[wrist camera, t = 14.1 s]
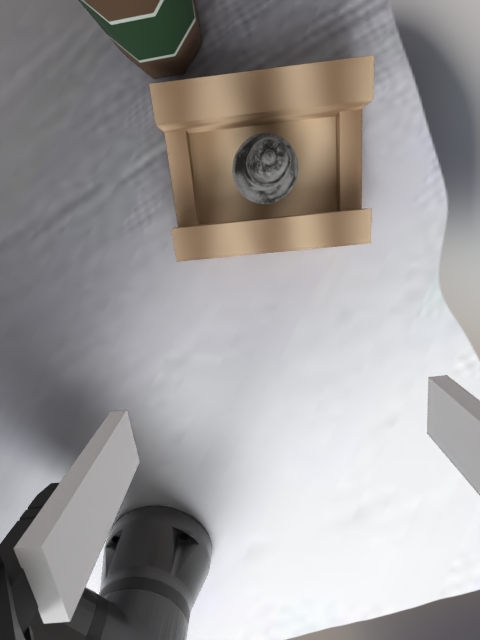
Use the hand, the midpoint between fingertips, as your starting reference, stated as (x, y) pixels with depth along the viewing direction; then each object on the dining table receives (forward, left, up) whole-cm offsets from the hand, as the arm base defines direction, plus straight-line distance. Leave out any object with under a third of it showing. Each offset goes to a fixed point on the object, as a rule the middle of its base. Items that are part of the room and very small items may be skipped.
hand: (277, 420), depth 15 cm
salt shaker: (+1, +12, -24) cm, 27 cm away
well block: (+1, +12, -25) cm, 28 cm away
